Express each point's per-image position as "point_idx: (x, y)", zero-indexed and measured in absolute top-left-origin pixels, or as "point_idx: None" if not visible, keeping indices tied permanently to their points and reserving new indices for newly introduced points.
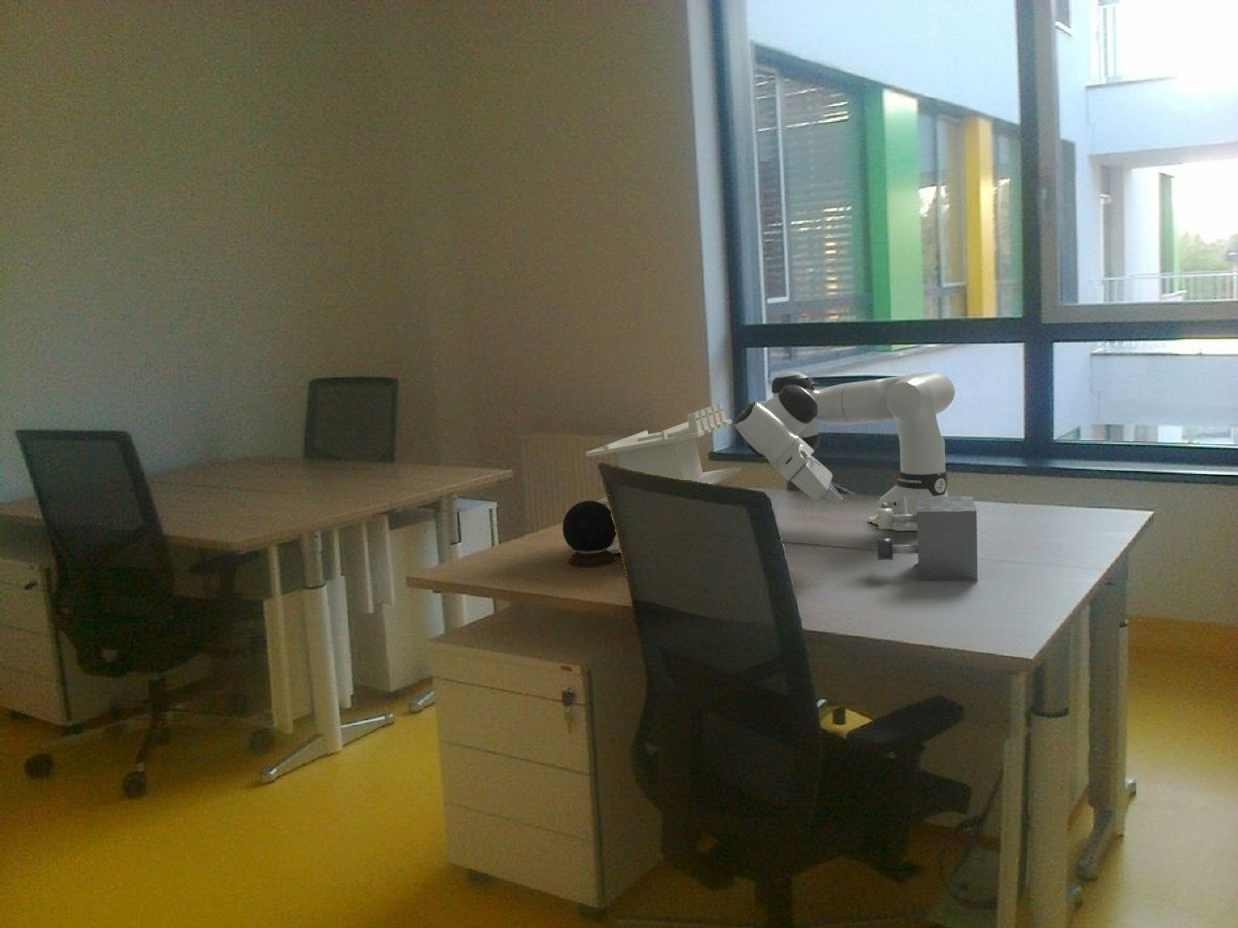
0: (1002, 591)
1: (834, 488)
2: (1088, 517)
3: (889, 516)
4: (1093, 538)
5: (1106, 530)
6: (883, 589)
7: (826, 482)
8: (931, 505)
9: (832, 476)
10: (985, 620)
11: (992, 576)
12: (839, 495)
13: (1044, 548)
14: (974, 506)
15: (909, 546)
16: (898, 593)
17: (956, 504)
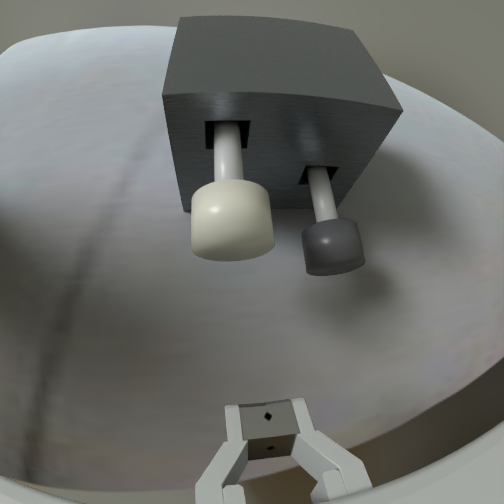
0: None
1: (224, 471)
2: (2, 68)
3: (267, 200)
4: (83, 43)
5: (56, 44)
6: (402, 267)
7: (440, 486)
8: (310, 69)
9: (14, 481)
10: (464, 151)
11: None
12: (261, 425)
13: (114, 65)
14: (306, 22)
15: (330, 188)
16: (416, 240)
17: (286, 35)
